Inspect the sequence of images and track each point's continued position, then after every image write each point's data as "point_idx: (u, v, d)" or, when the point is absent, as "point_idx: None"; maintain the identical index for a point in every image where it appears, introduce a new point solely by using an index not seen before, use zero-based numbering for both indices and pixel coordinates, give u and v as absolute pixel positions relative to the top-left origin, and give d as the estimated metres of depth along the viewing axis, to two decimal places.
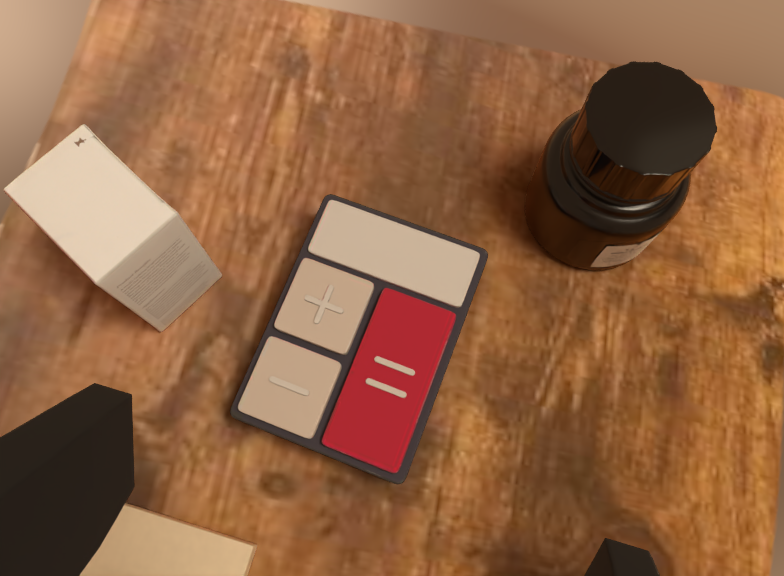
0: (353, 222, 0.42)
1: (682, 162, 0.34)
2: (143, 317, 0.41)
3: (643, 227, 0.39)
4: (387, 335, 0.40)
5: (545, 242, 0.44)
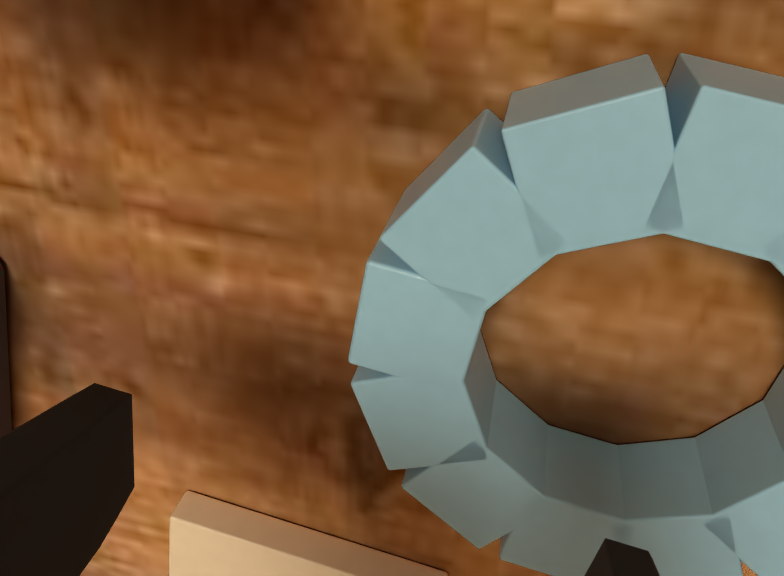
0: None
1: None
2: None
3: None
4: None
5: None
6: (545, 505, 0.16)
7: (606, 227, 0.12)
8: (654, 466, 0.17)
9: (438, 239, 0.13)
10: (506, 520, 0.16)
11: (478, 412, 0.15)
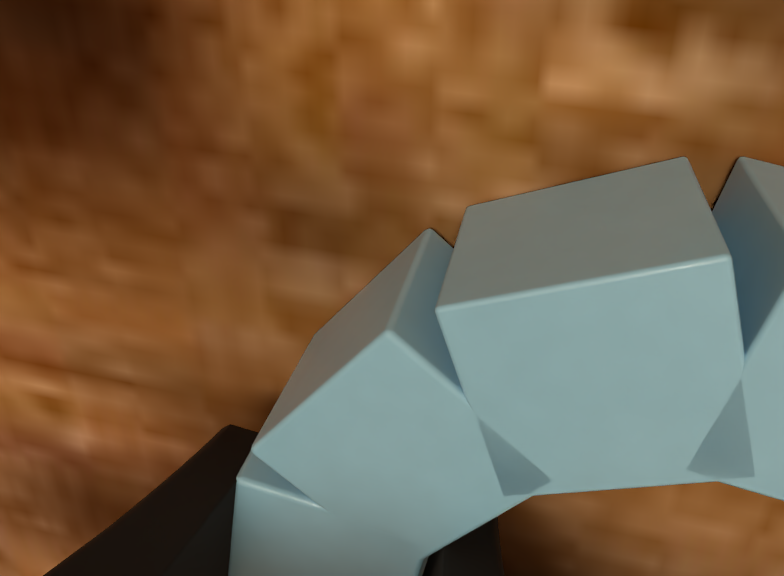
0: None
1: None
2: None
3: None
4: None
5: None
6: None
7: (619, 465, 0.07)
8: None
9: (342, 460, 0.08)
10: None
11: None
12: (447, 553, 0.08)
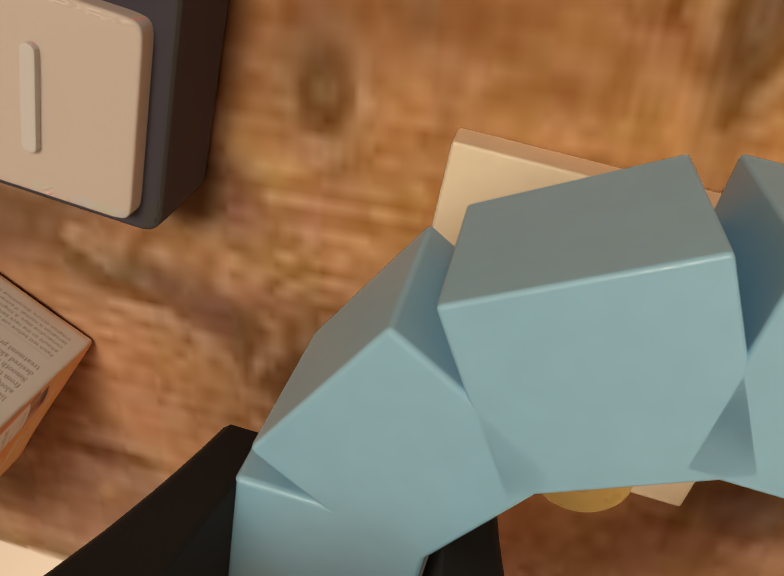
0: None
1: None
2: (17, 407, 0.20)
3: None
4: None
5: None
6: None
7: (620, 463, 0.07)
8: None
9: (343, 458, 0.08)
10: None
11: None
12: (447, 553, 0.08)
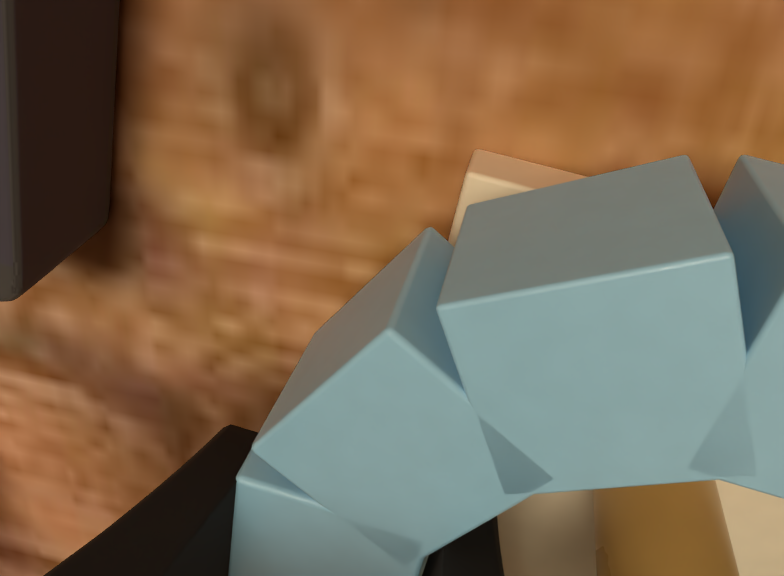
0: None
1: None
2: None
3: None
4: None
5: None
6: None
7: (620, 463, 0.07)
8: None
9: (342, 458, 0.08)
10: None
11: None
12: (447, 553, 0.08)
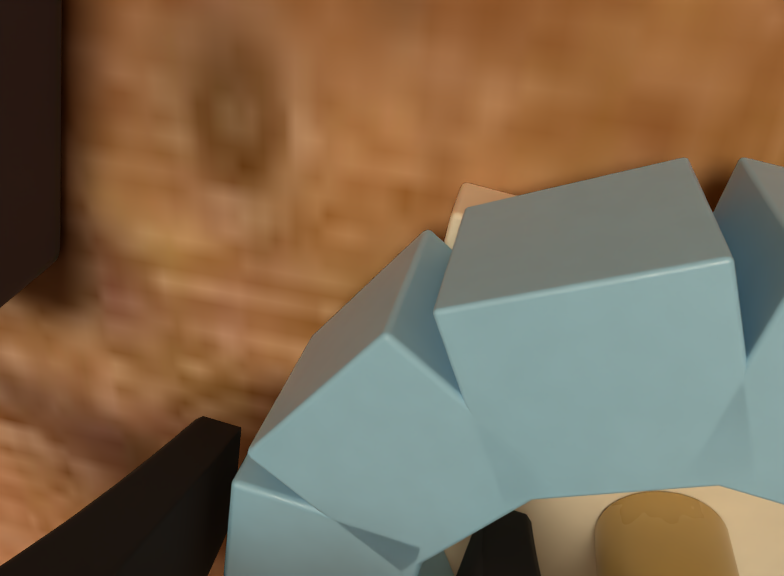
0: None
1: None
2: None
3: None
4: None
5: None
6: None
7: (619, 469, 0.07)
8: None
9: (339, 463, 0.08)
10: None
11: None
12: (486, 565, 0.08)
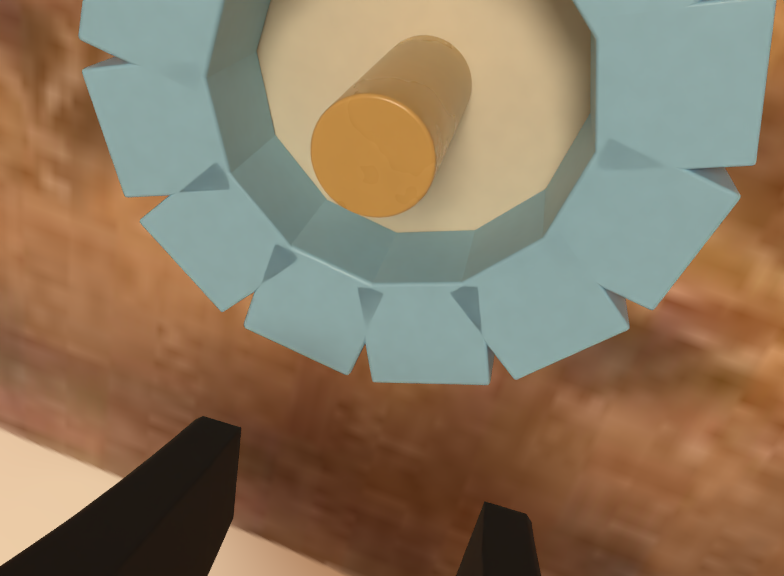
0: None
1: None
2: None
3: None
4: None
5: None
6: (290, 257, 0.14)
7: None
8: (423, 248, 0.15)
9: None
10: (250, 274, 0.15)
11: (225, 129, 0.13)
12: (486, 565, 0.08)
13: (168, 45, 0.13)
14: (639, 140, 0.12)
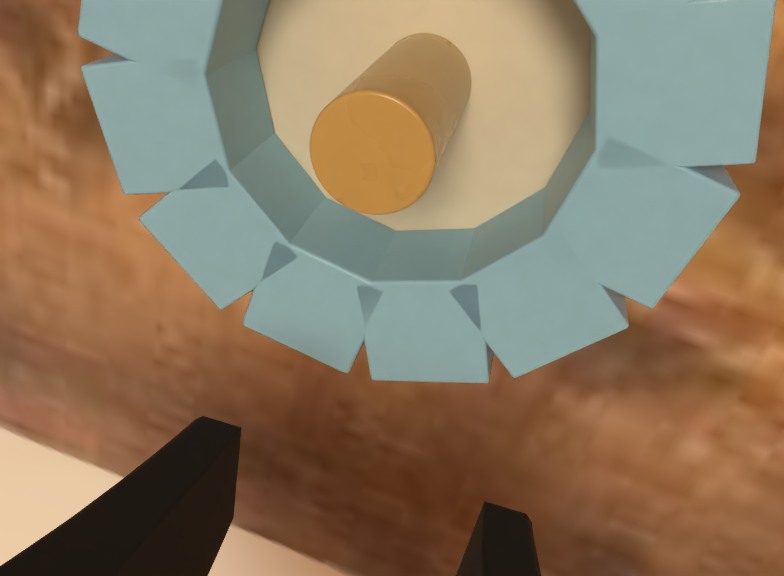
0: None
1: None
2: None
3: None
4: None
5: None
6: (290, 255, 0.14)
7: None
8: (423, 245, 0.15)
9: None
10: (249, 272, 0.15)
11: (224, 126, 0.13)
12: (486, 565, 0.08)
13: (167, 42, 0.13)
14: (639, 138, 0.12)
